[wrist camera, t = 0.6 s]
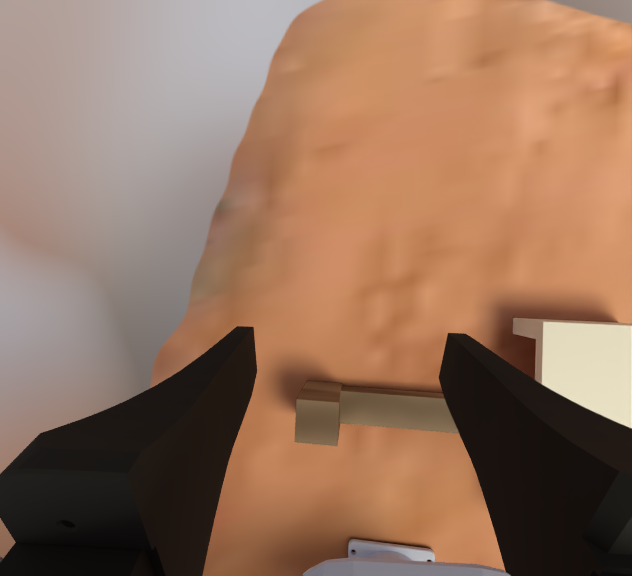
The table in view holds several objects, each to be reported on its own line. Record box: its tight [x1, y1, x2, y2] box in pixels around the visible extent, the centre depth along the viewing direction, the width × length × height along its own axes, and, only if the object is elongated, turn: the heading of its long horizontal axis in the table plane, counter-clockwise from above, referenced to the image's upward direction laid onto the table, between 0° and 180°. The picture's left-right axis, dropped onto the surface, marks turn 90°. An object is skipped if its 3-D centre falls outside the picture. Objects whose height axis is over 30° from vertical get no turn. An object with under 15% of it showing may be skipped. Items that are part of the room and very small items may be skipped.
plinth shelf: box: [513, 318, 632, 428], centre depth 28 cm, size 18×9×5 cm, turn 178°
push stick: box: [295, 381, 459, 446], centre depth 29 cm, size 4×17×6 cm, turn 88°
